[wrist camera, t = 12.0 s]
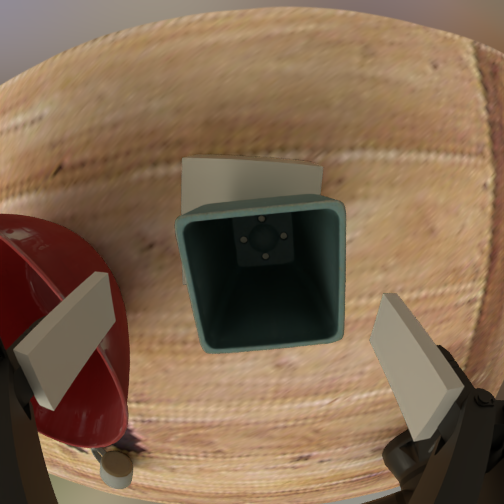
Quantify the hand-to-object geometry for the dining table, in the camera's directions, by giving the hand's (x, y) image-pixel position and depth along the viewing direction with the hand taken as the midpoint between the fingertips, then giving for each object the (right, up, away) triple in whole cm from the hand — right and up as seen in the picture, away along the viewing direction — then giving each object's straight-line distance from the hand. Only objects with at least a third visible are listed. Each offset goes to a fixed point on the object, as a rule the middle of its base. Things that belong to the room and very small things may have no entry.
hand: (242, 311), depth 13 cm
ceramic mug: (-30, -43, +37) cm, 64 cm away
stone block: (0, +7, +16) cm, 18 cm away
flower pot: (+1, +4, +11) cm, 12 cm away
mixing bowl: (-23, -2, +21) cm, 31 cm away
